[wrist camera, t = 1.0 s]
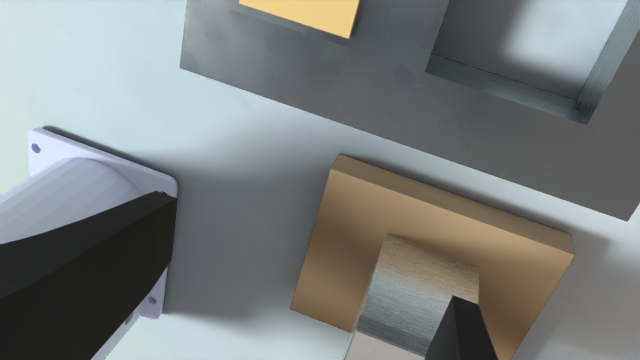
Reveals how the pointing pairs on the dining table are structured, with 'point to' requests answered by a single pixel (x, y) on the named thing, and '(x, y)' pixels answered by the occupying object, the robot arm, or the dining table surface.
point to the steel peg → (407, 301)
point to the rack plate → (432, 90)
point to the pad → (434, 233)
